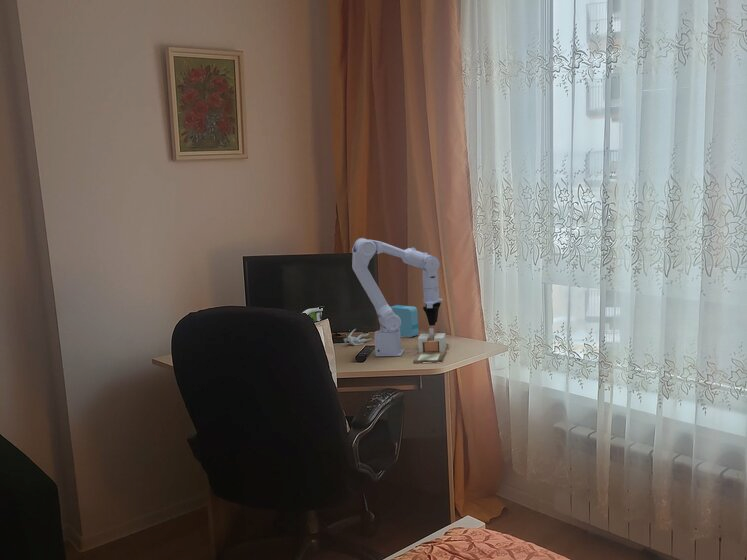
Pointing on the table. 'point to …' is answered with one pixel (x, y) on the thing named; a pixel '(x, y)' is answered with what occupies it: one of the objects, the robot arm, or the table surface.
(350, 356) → the table surface
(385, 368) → the table surface
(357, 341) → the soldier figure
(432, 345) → the sled block
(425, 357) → the walnut board
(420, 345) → the grey tunnel
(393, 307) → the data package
